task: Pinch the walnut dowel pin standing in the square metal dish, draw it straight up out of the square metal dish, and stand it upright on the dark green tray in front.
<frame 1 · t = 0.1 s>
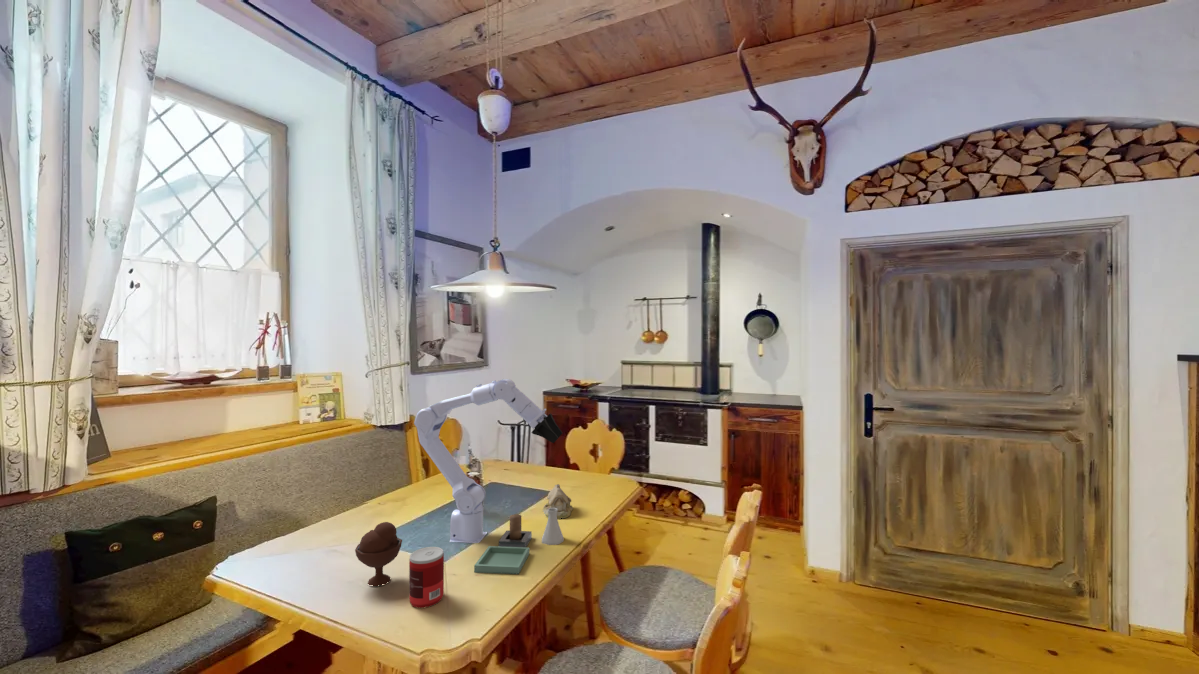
hand: (558, 438, 147), 32 cm above the table, tool tilted 50°, fingers open, 7 cm apart
square metal dish: (515, 544, 145), on the table
pin: (515, 542, 145), resting on square metal dish
tray: (503, 564, 132), on the table
canned food: (426, 600, 114), on the table
flask: (552, 542, 147), on the table
ice cream bowl: (379, 582, 123), on the table
ceramic model: (558, 513, 172), on the table
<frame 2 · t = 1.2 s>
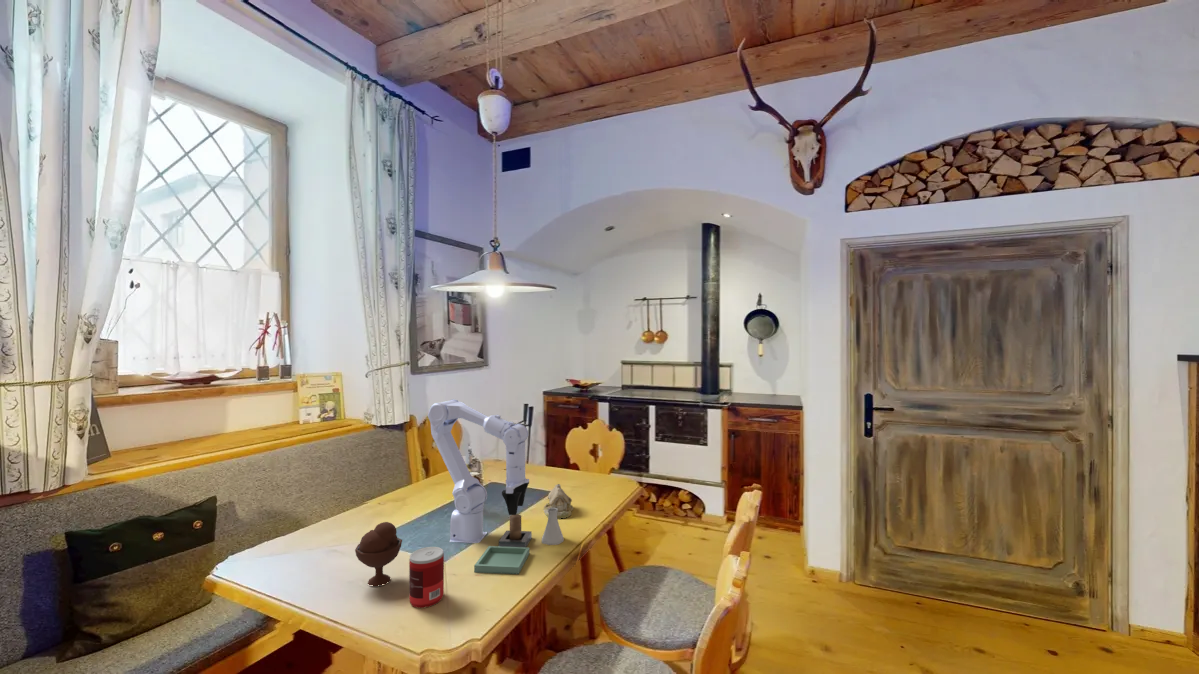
hand: (516, 510, 145), 10 cm above the table, tool pointing down, fingers open, 7 cm apart
nothing on the table moved.
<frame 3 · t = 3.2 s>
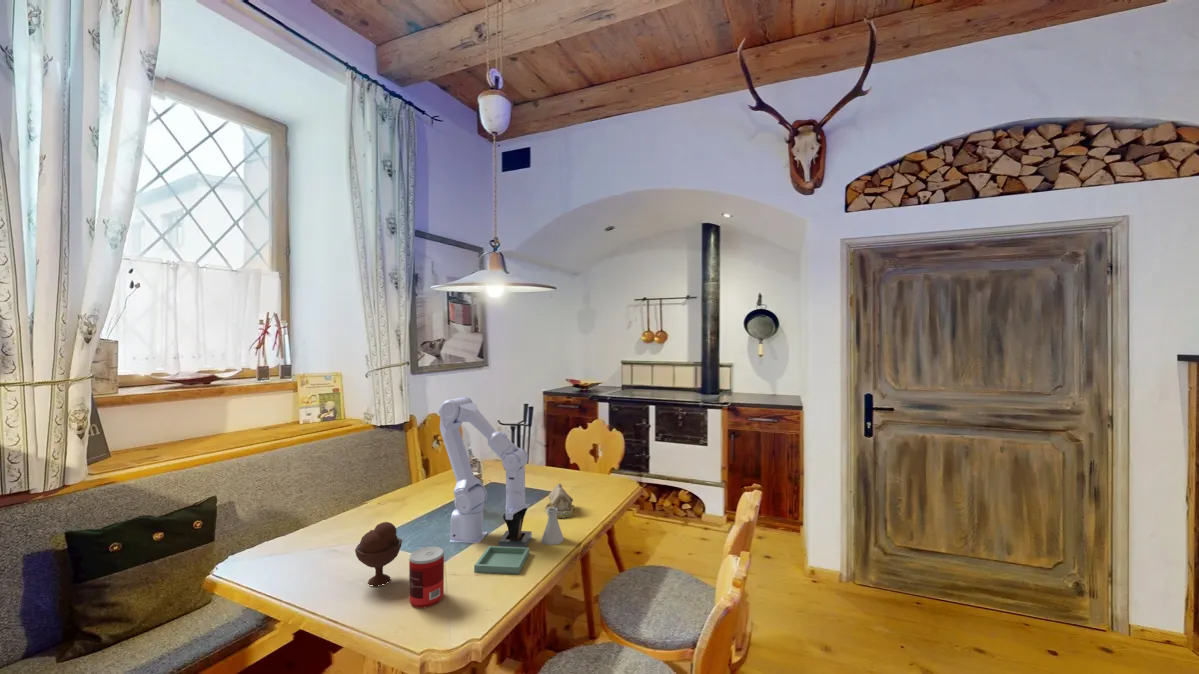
hand: (515, 534, 145), 3 cm above the table, tool pointing down, fingers closed on pin, 3 cm apart
pin: (515, 542, 145), point 1 cm above the table, touching square metal dish, gripper
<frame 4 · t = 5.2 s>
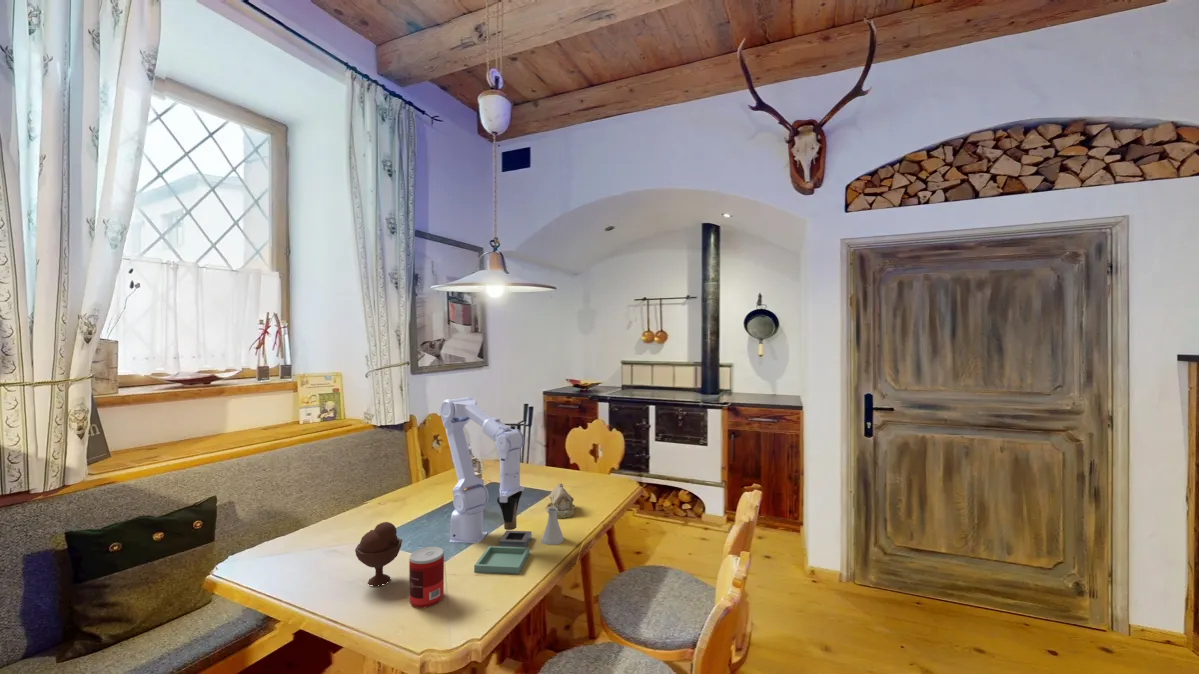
hand: (510, 519, 139), 10 cm above the table, tool pointing down, fingers closed on pin, 3 cm apart
pin: (510, 527, 139), point 8 cm above the table, touching gripper
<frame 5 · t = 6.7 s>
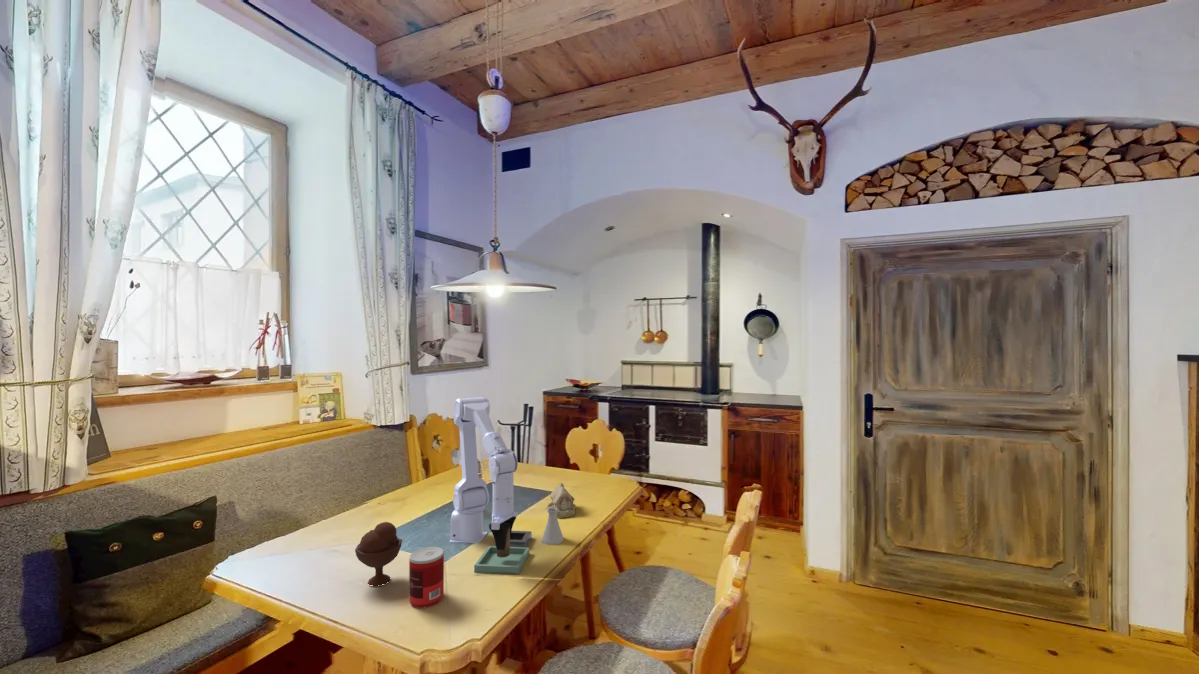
hand: (503, 545, 132), 5 cm above the table, tool pointing down, fingers closed on pin, 3 cm apart
pin: (503, 554, 132), point 3 cm above the table, touching gripper
when the fingers open (4 cm above the table, at t = 7.7 s): pin drops 1 cm, resting on tray.
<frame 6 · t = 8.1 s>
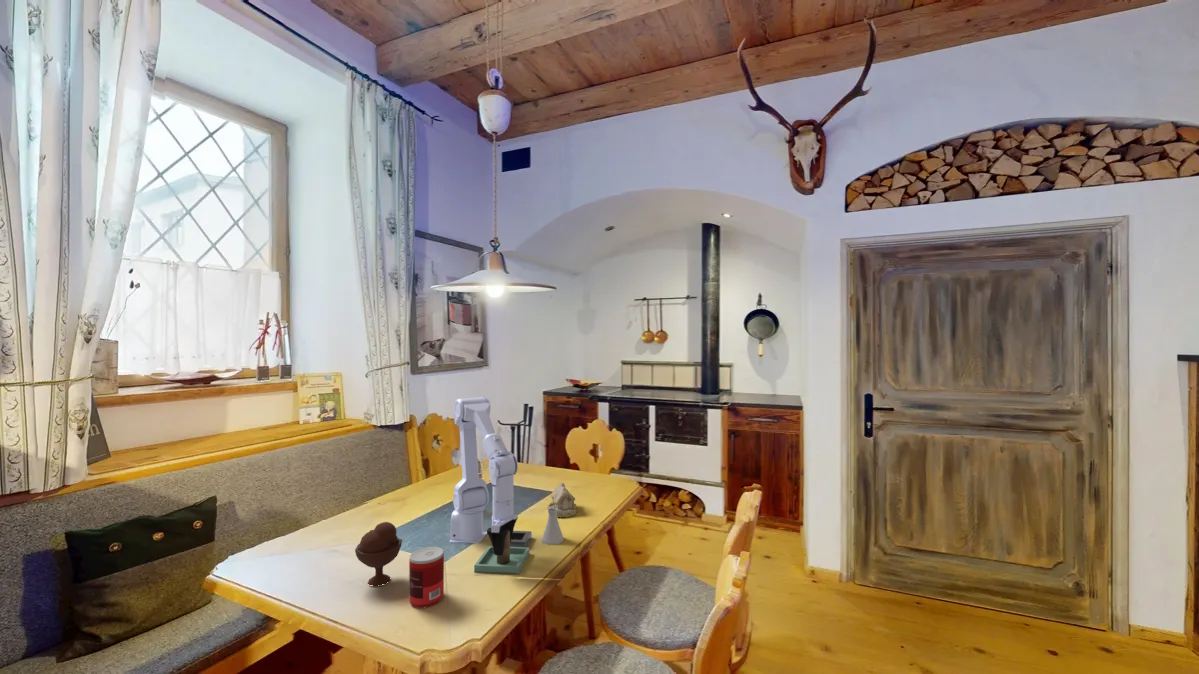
hand: (503, 548, 132), 4 cm above the table, tool pointing down, fingers open, 7 cm apart
pin: (503, 561, 132), point 1 cm above the table, touching tray
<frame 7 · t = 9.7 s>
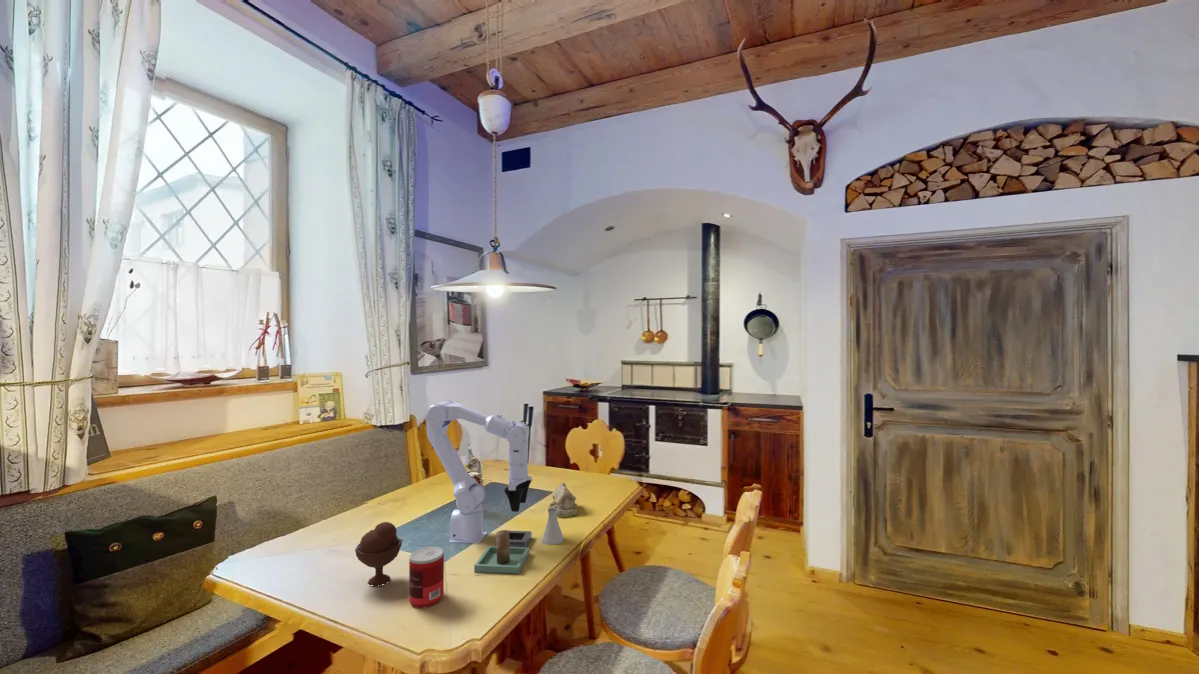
hand: (518, 506, 148), 10 cm above the table, tool pointing down, fingers open, 7 cm apart
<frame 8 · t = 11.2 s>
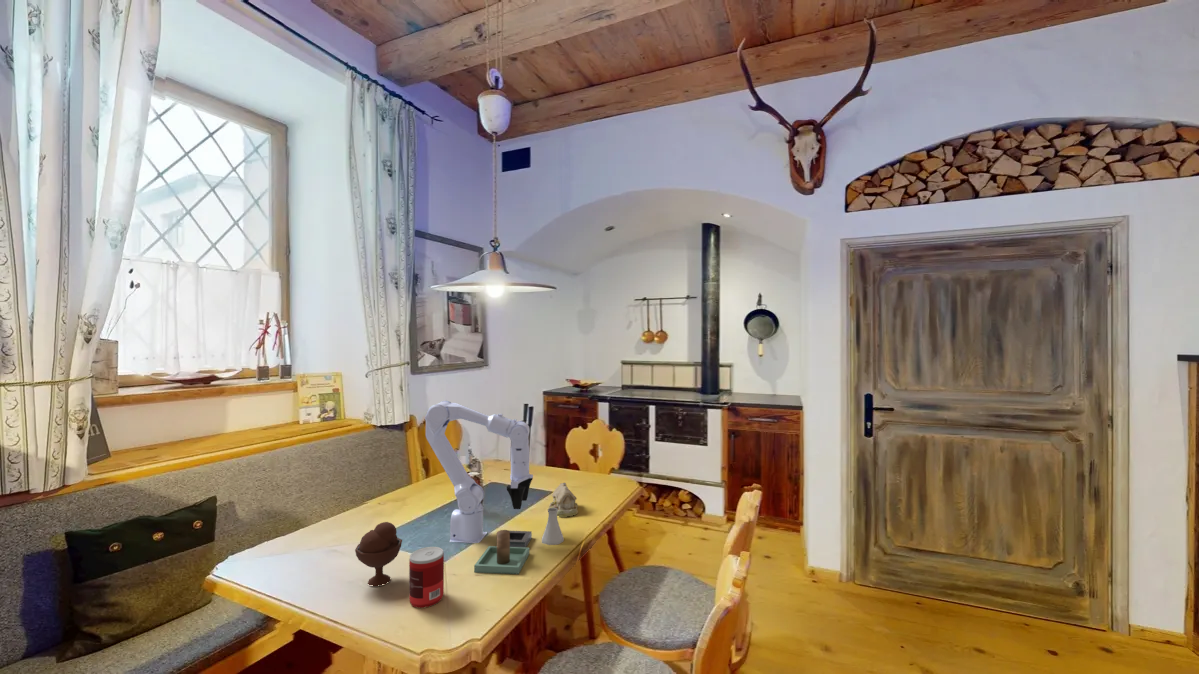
hand: (520, 504, 150), 10 cm above the table, tool pointing down, fingers open, 7 cm apart
at the end: pin inside the target area on the tray (0.1 cm from its centre), point 0.8 cm above the tray's base; pin tilted 2°; the gripper is holding nothing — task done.
